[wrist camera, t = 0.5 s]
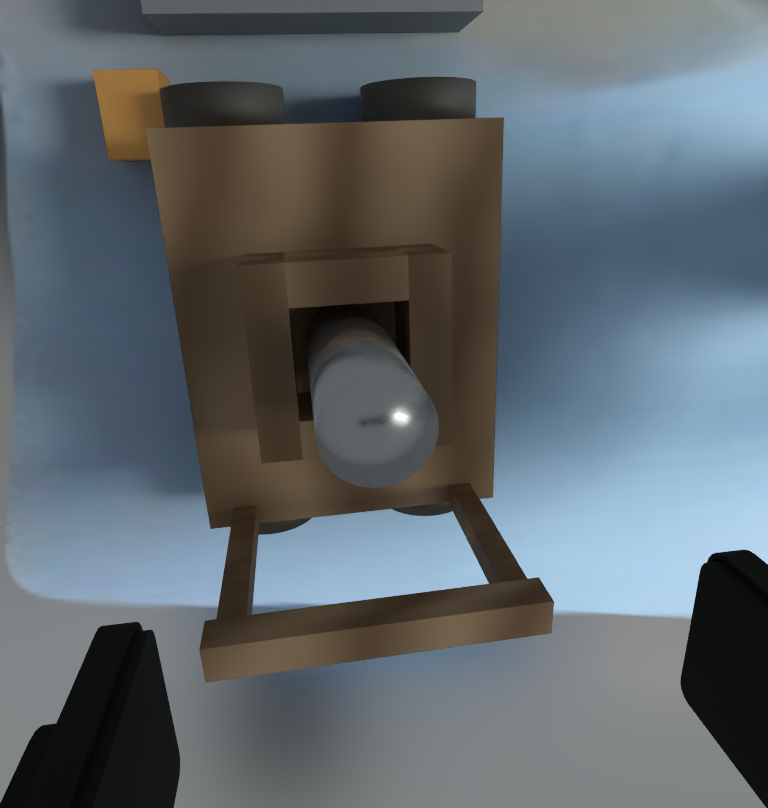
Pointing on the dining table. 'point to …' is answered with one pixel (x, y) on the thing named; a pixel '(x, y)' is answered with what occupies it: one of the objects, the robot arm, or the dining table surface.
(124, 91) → the orange block
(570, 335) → the dining table surface
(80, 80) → the dining table surface
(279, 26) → the tray
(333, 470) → the pin
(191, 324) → the trolley
